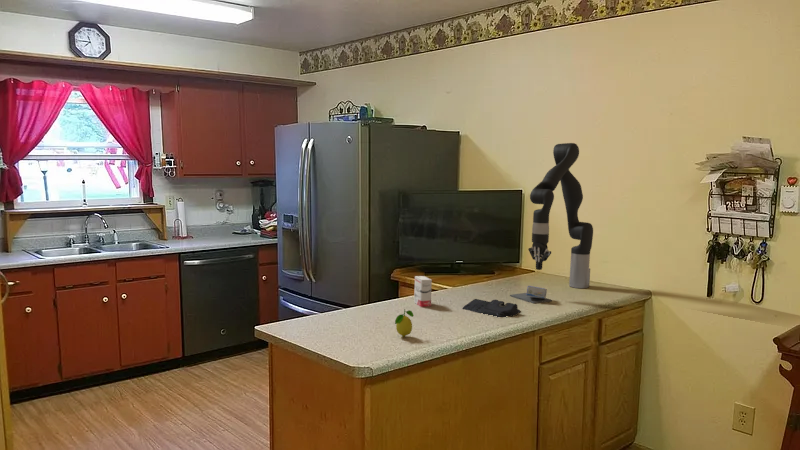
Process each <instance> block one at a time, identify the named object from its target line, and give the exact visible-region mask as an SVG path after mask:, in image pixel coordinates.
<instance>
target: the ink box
mask: <svg viewBox="0 0 800 450" xmlns="http://www.w3.org/2000/svg"><path fill="white" fill-rule="evenodd" d="M432 281H433V279H431V278H429V277H428V276H425V275H414V294H413V296H414V298H413V303H414V304H416V305H417V306H419V307H420V308H424V307H426V308H427V307H432V284H433V282H432Z"/></svg>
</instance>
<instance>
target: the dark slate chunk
mask: <svg viewBox="0 0 800 450" xmlns="http://www.w3.org/2000/svg"><path fill="white" fill-rule="evenodd" d="M462 310H466V311H470V312H473V313H477V314H481V313H483V314H482V315H485V314H488V315H487V316H489V315H493V316H492V317H494V316H497V317H496V318H498V317H506V316H509V317H513V315H514V316H517V315H518V314H519V313H520V312H521V310H520V309H519V308H518V304H517V303H512V302H506V303H505V301H503V300H498V299H492V300H491V301H487V300H484V299H483V300H482V299H477V298H474V299H472V300H471V301H470V302H468V303H467V304H466V305H465V304H464V306H463V307H462ZM516 314H517V315H516ZM506 318H507V317H506Z"/></svg>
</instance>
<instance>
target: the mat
mask: <svg viewBox="0 0 800 450" xmlns="http://www.w3.org/2000/svg"><path fill="white" fill-rule="evenodd" d="M526 294H527V292H522V293H514V294H513V293H512V294H509V297H513V298H515V299H518V300H521V301H524V302H527V303H531V304H540V303H547V302H548V303H549V302H552V301H553V299H551V298H550V299H549V298H547V297H546V298H539V297H533V296H527V295H526Z"/></svg>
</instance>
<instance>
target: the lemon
mask: <svg viewBox="0 0 800 450" xmlns="http://www.w3.org/2000/svg"><path fill="white" fill-rule="evenodd" d="M403 311H404V313H401V314H398V315H397V317H396V318H395V321H394V324H395V325H396V332H397V333H398V334H399V335H401V336H402V338H404V337H406V336H408V335H410V334H411V333H412V330H413V323H412V320H411V319H410V317H414V313H413V312H412V310H407V311H406V309H403ZM406 314H407V315H408V316H407V315H406Z"/></svg>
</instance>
